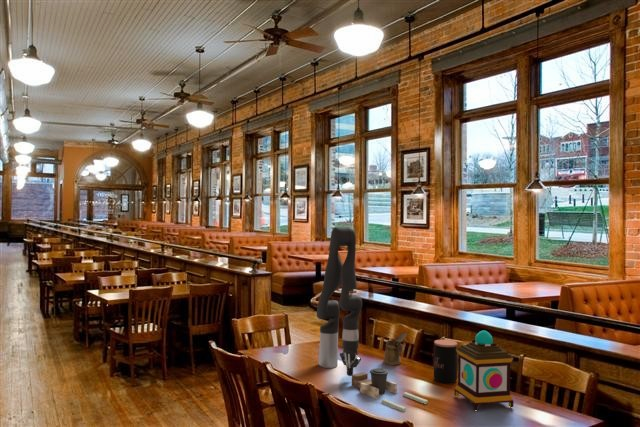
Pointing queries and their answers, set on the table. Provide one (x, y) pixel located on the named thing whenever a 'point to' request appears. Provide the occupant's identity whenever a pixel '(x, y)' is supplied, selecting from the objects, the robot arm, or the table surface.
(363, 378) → the pusher
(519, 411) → the table surface
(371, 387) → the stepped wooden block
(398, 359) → the brown sack with scoop
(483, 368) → the decorative lantern
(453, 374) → the coffee jar
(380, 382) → the coffee cup
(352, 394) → the table surface
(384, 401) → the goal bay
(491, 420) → the table surface
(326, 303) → the robot arm
